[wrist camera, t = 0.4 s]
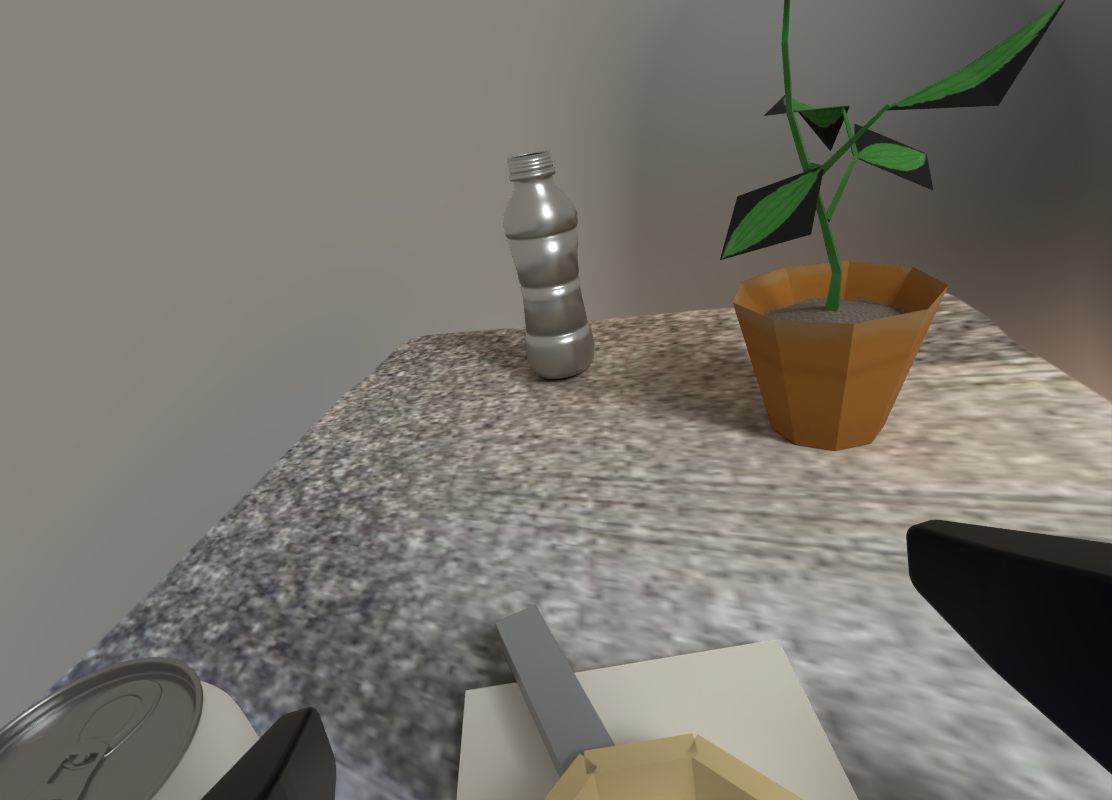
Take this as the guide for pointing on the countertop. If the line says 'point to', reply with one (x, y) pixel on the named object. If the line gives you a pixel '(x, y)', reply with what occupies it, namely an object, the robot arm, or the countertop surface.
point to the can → (125, 737)
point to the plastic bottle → (547, 268)
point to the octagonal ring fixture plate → (644, 727)
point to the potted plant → (846, 269)
